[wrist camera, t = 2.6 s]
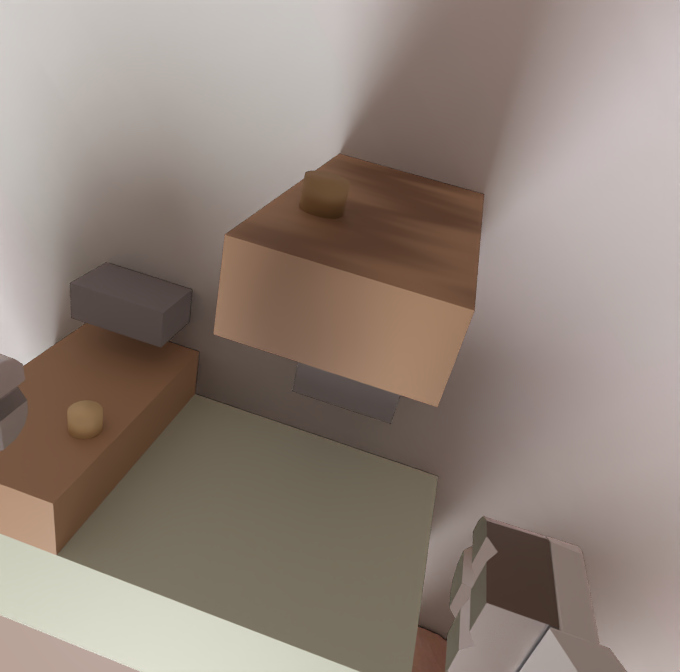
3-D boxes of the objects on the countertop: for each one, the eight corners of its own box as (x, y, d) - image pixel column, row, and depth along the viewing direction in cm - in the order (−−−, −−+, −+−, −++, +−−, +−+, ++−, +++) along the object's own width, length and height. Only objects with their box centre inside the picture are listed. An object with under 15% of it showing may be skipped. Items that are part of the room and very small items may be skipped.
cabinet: (477, 380, 28) (466, 578, 18) (408, 546, 34) (371, 763, 24) (48, 243, 30) (-182, 347, 20) (58, 422, 37) (-113, 569, 26)
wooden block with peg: (492, 171, 23) (488, 273, 13) (461, 258, 25) (437, 406, 15) (344, 130, 24) (229, 196, 14) (325, 218, 26) (213, 334, 16)
